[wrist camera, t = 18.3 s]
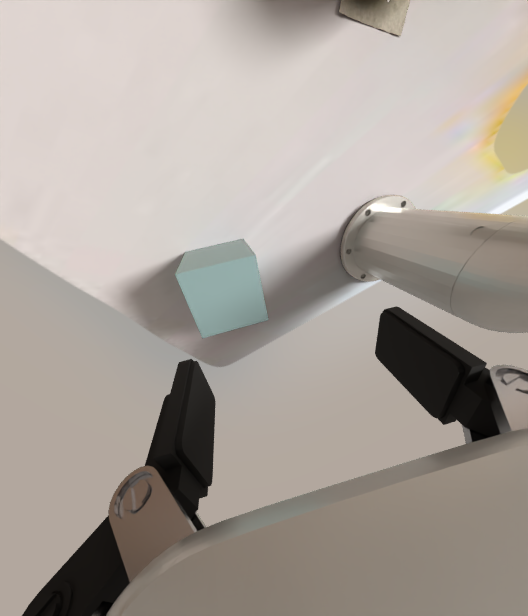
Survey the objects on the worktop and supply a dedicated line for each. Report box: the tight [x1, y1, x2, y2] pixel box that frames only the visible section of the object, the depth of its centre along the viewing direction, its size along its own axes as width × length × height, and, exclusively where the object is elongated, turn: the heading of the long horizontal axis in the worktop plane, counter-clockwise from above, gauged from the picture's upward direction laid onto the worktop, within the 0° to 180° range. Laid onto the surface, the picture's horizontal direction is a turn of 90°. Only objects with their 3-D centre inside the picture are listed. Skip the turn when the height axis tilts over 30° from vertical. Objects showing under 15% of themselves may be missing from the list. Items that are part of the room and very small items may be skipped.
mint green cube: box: [175, 239, 268, 338], centre depth 25 cm, size 8×8×9 cm
